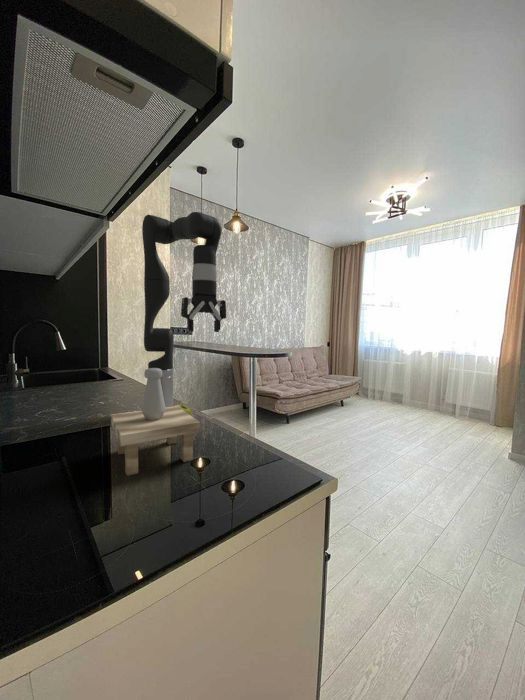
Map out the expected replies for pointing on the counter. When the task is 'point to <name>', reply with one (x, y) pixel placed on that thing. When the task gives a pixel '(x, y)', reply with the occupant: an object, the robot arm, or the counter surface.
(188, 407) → the apple
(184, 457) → the footstool
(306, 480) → the counter surface
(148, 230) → the robot arm
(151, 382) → the salt shaker
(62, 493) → the counter surface
